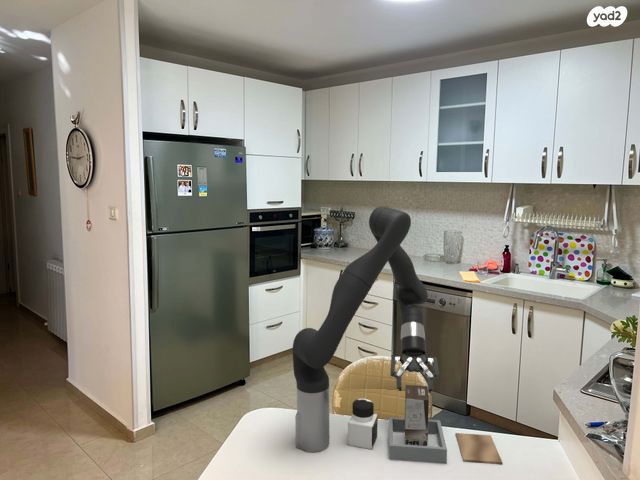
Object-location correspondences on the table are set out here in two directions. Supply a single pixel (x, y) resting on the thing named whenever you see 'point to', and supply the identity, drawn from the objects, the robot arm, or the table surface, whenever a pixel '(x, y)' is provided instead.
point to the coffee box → (416, 415)
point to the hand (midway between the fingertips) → (415, 391)
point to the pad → (478, 448)
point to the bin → (416, 451)
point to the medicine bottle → (362, 424)
